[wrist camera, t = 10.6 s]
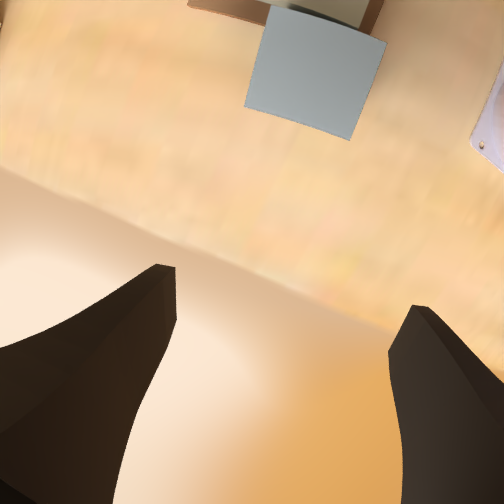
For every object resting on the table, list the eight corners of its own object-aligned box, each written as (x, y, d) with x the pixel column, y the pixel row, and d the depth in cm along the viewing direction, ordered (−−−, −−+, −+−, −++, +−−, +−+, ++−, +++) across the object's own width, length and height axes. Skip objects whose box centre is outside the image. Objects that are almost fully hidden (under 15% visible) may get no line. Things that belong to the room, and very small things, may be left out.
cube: (369, 39, 12) (387, 43, 9) (342, 113, 15) (349, 140, 12) (283, 11, 12) (271, 4, 9) (262, 87, 15) (244, 106, 12)
